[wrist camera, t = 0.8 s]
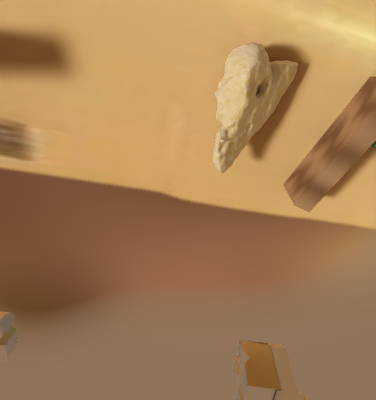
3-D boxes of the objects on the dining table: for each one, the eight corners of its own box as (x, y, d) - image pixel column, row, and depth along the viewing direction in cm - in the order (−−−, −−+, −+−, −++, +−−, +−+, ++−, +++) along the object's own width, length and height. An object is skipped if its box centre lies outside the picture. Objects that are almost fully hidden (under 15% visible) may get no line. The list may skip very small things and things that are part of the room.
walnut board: (370, 76, 39) (398, 85, 33) (386, 86, 39) (416, 96, 34) (283, 184, 49) (294, 205, 43) (296, 191, 49) (309, 212, 44)
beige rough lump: (261, 16, 37) (176, 57, 32) (309, 27, 33) (222, 75, 28) (251, 114, 49) (189, 156, 43) (286, 131, 45) (222, 179, 40)
